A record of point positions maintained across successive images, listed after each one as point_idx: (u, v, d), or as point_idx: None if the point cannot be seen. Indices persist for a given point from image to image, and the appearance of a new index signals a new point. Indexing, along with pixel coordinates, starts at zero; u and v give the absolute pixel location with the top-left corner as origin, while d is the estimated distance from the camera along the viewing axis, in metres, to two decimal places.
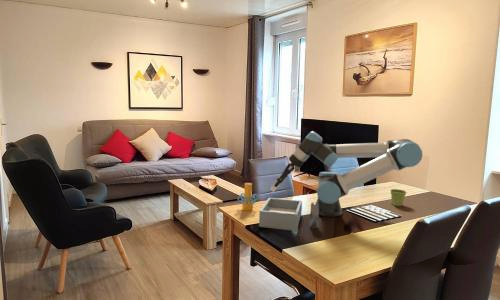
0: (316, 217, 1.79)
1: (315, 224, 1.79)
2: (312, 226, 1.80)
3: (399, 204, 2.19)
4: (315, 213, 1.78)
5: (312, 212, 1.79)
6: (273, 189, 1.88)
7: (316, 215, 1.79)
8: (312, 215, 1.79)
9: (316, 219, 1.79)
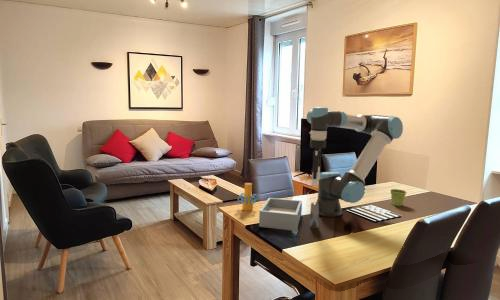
0: (316, 217, 1.79)
1: (315, 224, 1.79)
2: (312, 226, 1.80)
3: (399, 204, 2.19)
4: (315, 213, 1.78)
5: (312, 212, 1.79)
6: (315, 183, 1.71)
7: (316, 215, 1.79)
8: (312, 215, 1.79)
9: (316, 219, 1.79)
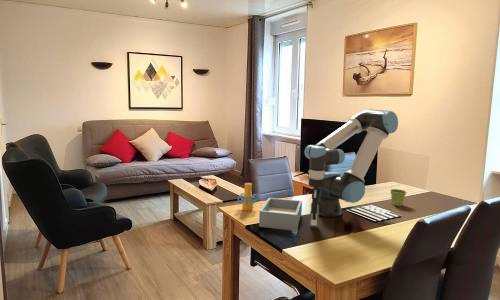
0: None
1: None
2: (312, 226, 1.80)
3: (399, 204, 2.19)
4: None
5: None
6: (314, 223, 1.78)
7: None
8: None
9: None
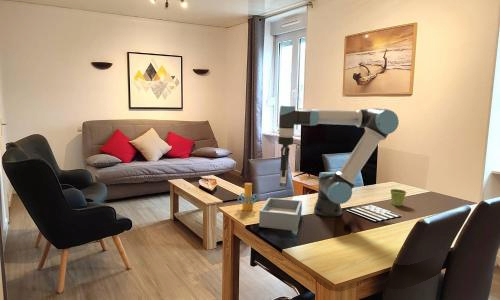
0: None
1: (284, 183, 1.84)
2: (281, 185, 1.84)
3: (399, 204, 2.19)
4: None
5: None
6: (283, 180, 1.83)
7: None
8: None
9: None
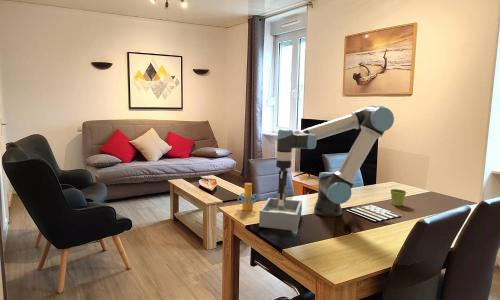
0: None
1: (282, 206, 1.86)
2: (279, 208, 1.86)
3: (399, 204, 2.19)
4: None
5: None
6: (281, 203, 1.85)
7: None
8: None
9: None
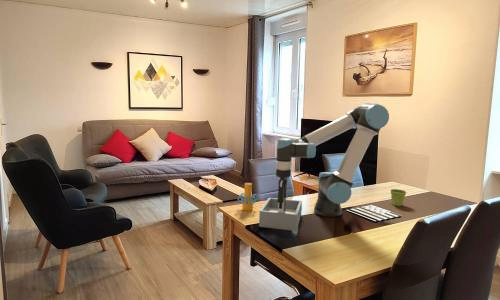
0: (283, 211, 1.86)
1: None
2: None
3: (399, 204, 2.19)
4: None
5: None
6: (281, 212, 1.84)
7: (283, 209, 1.86)
8: None
9: None
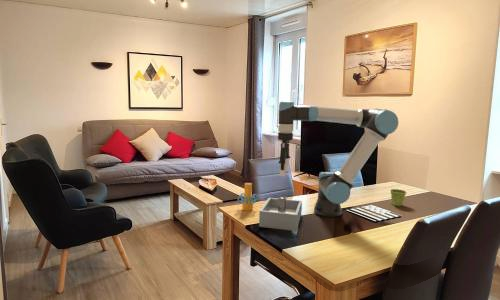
0: (283, 211, 1.87)
1: None
2: None
3: (399, 204, 2.19)
4: (282, 207, 1.86)
5: (279, 206, 1.87)
6: (283, 174, 1.79)
7: (283, 209, 1.86)
8: (279, 209, 1.87)
9: None
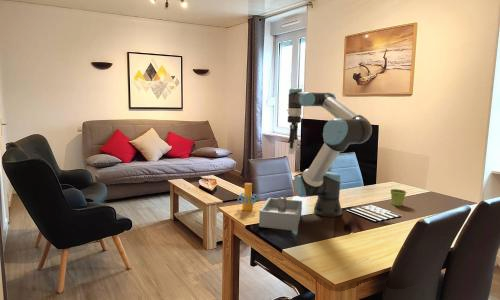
0: (283, 211, 1.87)
1: None
2: None
3: (399, 204, 2.19)
4: (282, 207, 1.86)
5: (279, 206, 1.87)
6: (291, 152, 2.05)
7: (283, 209, 1.86)
8: (279, 209, 1.87)
9: None
